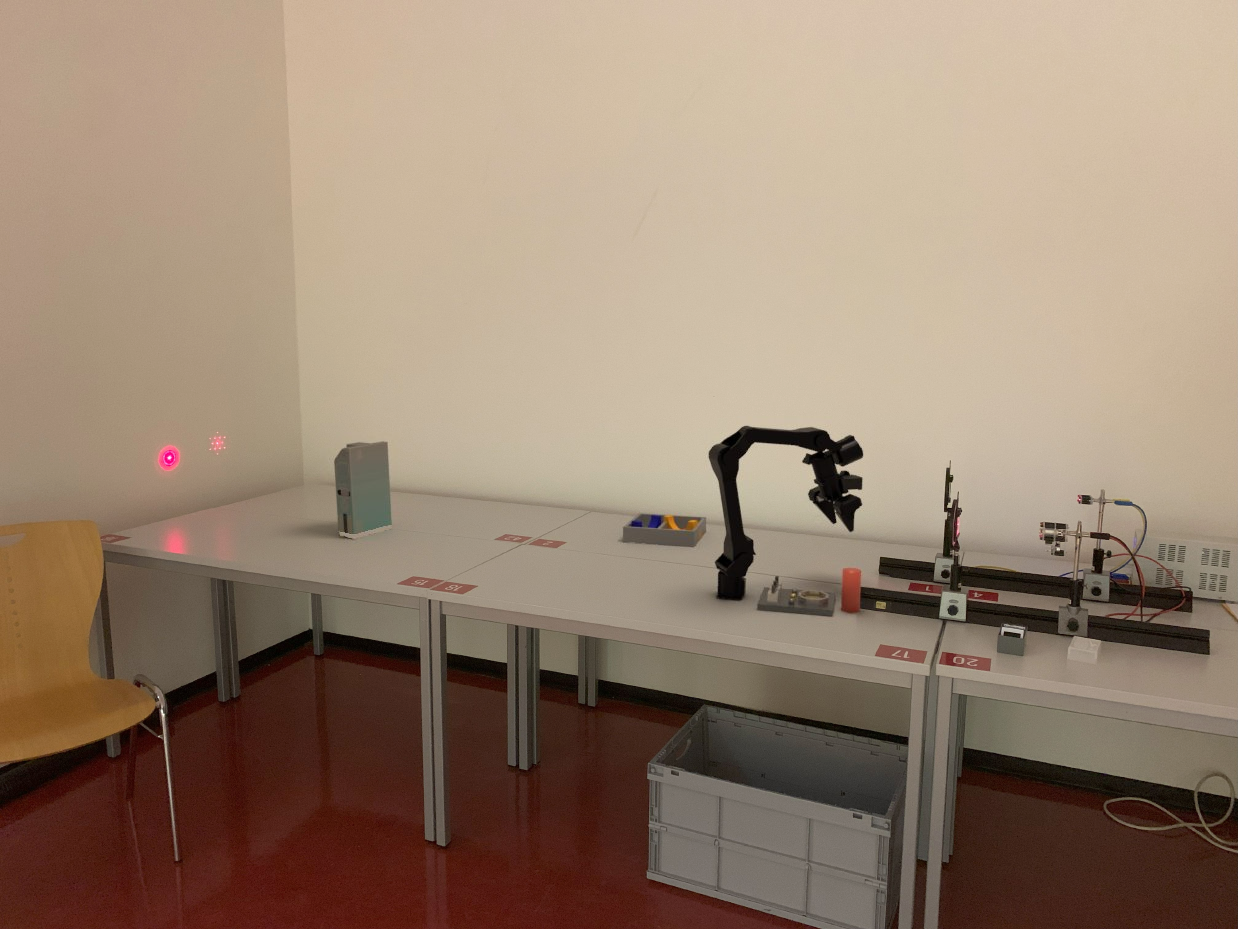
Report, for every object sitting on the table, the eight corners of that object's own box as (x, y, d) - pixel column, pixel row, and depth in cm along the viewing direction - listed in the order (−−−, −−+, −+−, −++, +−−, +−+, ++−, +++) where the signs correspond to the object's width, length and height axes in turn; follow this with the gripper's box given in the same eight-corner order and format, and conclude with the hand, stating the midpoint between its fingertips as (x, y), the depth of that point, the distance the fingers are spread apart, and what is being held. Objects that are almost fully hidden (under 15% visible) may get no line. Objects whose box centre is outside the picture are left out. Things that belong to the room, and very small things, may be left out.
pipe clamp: (700, 539, 286) (701, 520, 285) (692, 542, 283) (692, 522, 282) (671, 533, 294) (672, 514, 293) (663, 535, 291) (663, 516, 290)
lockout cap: (840, 612, 217) (842, 572, 216) (841, 606, 221) (842, 567, 220) (859, 613, 216) (861, 573, 214) (859, 607, 220) (861, 568, 219)
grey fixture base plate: (757, 609, 219) (757, 588, 218) (764, 592, 232) (764, 572, 231) (832, 616, 214) (833, 594, 213) (835, 598, 227) (835, 577, 226)
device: (376, 526, 307) (371, 440, 302) (392, 529, 303) (388, 441, 298) (338, 536, 293) (332, 446, 288) (354, 539, 289) (349, 448, 284)
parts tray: (623, 542, 284) (623, 526, 283) (639, 527, 303) (639, 513, 302) (694, 547, 277) (694, 531, 277) (706, 531, 296) (706, 517, 296)
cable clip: (642, 541, 286) (642, 522, 285) (631, 539, 289) (631, 520, 288) (664, 533, 295) (664, 516, 294) (653, 531, 298) (653, 514, 297)
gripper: (871, 467, 223) (888, 523, 227) (835, 456, 241) (851, 507, 245) (833, 484, 221) (850, 540, 225) (799, 472, 239) (816, 524, 243)
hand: (843, 527), depth 235 cm, fingers open, 9 cm apart
